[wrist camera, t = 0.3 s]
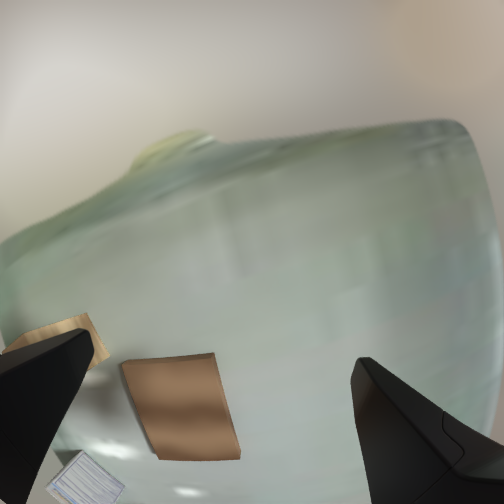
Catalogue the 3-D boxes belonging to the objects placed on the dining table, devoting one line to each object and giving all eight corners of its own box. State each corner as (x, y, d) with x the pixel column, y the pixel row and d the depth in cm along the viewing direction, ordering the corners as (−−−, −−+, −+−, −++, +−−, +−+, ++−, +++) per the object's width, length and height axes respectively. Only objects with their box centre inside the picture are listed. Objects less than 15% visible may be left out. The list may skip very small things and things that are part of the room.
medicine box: (72, 457, 25) (42, 487, 16) (83, 448, 25) (50, 481, 16) (113, 492, 25) (90, 527, 16) (126, 486, 24) (102, 524, 16)
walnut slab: (241, 448, 24) (239, 459, 22) (164, 449, 25) (158, 459, 23) (215, 350, 24) (211, 358, 22) (130, 358, 25) (121, 365, 23)
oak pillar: (110, 355, 24) (54, 392, 15) (82, 370, 25) (28, 403, 15) (86, 312, 24) (23, 333, 15) (60, 330, 25) (1, 352, 15)
